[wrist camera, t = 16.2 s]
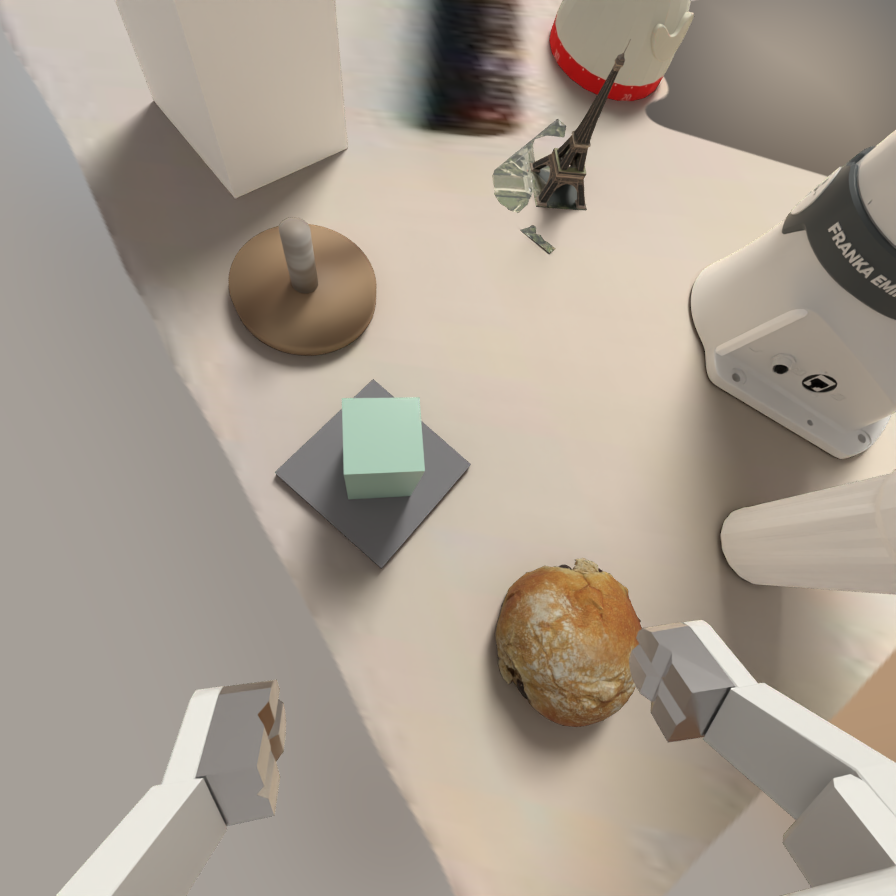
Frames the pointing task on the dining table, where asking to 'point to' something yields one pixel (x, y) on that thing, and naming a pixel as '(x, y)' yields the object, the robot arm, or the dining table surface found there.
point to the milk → (244, 81)
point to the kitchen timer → (619, 42)
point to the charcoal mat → (371, 519)
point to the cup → (819, 539)
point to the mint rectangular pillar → (382, 446)
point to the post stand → (303, 288)
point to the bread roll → (569, 642)
